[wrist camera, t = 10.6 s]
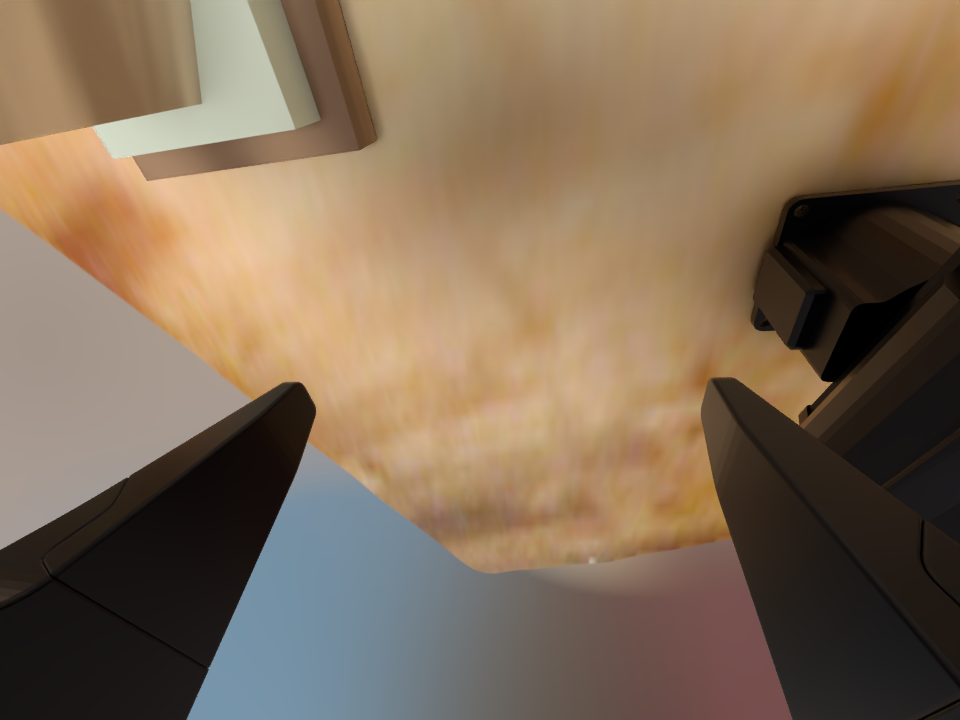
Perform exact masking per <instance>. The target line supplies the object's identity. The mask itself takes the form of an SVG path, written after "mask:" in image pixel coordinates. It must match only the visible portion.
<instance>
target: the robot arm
mask: <svg viewBox="0 0 960 720" xmlns="http://www.w3.org/2000/svg"><path fill="white" fill-rule="evenodd" d="M959 195H960V181H951V182H941V183H930V184H919V185H909V186H898V187H888V188H877V189H866V190H856V191H845V192H835V193H824V194H813V195H803V196H798V197H795V198H793V199H791V200H790V201H789V202H788V203H787V204H786V205H785V207H784V209H783V213H782V216H781V219H780V223H779V226H778V230H777V233H776V236H775V240H774V243H773V246H772V247H770V248H769V249H768V250H767V251H766V254H765V257H764V260H763V264H762V267H761V271H760V274H759V278H758V281H757V285H756V288H755V292H754V295H753V300H754V301H755V302H756V304H755V307H754V311H753V314H752V317H751V323H752V324H753V326H754V327H755V329H757V330H759V331H776V332H777V334H778V335H779V337H780V338H781V340H782V341H783V342H784V344H785V345H786V346H787V347H788V348H789V349H791V350H800V351H801V353H802V354H803V355H804V357H805V358H806V359H807V361H808V362H809V363H810V365H811V366H812V368H813V369H814V370H815V372H816V373H817V374H818V376H819V377H820V378H821V380H823V381H825V382H833V383H832V384H831V385H830V386H829V387H828V388H827V389H826V390H825V391H824V392H823V394H822V395H821V396H820V397H819V398H818V399H817V400H816V401H815V402H814V403H813V404H812V405H808V406H806V407H805V408H804V410H803V411H802V412H801V413H800V414H799V425H800V426H799V425H798V424H796V423H795V422H793V421H792V420H791V419H789V418H788V417H787V416H785V415H784V414H783V413H781V412H780V411H779V410H777V409H776V408H775V407H773V406H772V405H771V404H769V403H768V402H766V401H765V400H764V399H762V398H761V397H760V396H758V395H757V394H756V393H754V392H753V391H752V390H750V389H749V388H748V387H746V386H745V385H744V384H742V383H741V382H739V381H738V380H737V379H735V378H731V377H714V378H711V379H710V380H709V381H708V383H707V387H706V391H705V395H704V399H703V403H702V407H701V419H702V424H703V429H704V434H705V439H706V444H707V450H708V455H709V460H710V465H711V470H712V475H713V479H714V484H715V488H716V492H717V495H718V498H719V502H720V505H721V508H722V510H723V513H724V516H725V519H726V522H727V525H728V528H729V531H730V534H731V537H732V540H733V543H734V546H735V549H736V552H737V555H738V558H739V561H740V564H741V567H742V570H743V573H744V576H745V579H746V582H747V585H748V588H749V591H750V594H751V597H752V600H753V603H754V606H755V609H756V612H757V615H758V618H759V621H760V624H761V627H762V630H763V633H764V636H765V639H766V642H767V645H768V648H769V651H770V654H771V657H772V659H773V663H774V666H775V669H776V672H777V674H778V677H779V680H780V684H781V686H782V690H783V693H784V695H785V698H786V701H787V704H788V707H789V710H790V713H791V716H792V719H793V720H960V199H957V197H958V196H959ZM801 205H804V208H803V210H802V211H801V212H799V213H797V214H794V211H795V209H796V208H797V207H799V206H801ZM765 318H767V320H766V321H765V322H760V321H761V320H763V319H765ZM315 416H316V407H315V404H314V402H313V401H312V399H311V397H310V395H309V393H308V392H307V390H306V388H305V386H304V385H303V384H302V383H300V382H284V383H282V384H280V385H278V386H277V387H275V388H273V389H272V390H270V391H268V392H267V393H265V394H263V395H262V396H260V397H259V398H257V399H255V400H254V401H252V402H250V403H249V404H247V405H245V406H244V407H242V408H240V409H239V410H237V411H236V412H234V413H232V414H231V415H229V416H227V417H226V418H224V419H222V420H221V421H219V422H217V423H216V424H214V425H212V426H211V427H209V428H208V429H206V430H204V431H203V432H201V433H199V434H198V435H196V436H194V437H193V438H191V439H189V440H188V441H186V442H185V443H183V444H181V445H180V446H178V447H176V448H175V449H173V450H171V451H170V452H168V453H166V454H165V455H163V456H162V457H160V458H158V459H157V460H155V461H153V462H152V463H150V464H148V465H147V466H145V467H143V468H142V469H140V470H139V471H137V472H135V473H134V474H132V475H131V476H130V477H129V478H125V479H123V480H122V481H120V482H119V483H117V484H115V485H114V486H112V487H110V488H109V489H107V490H105V491H104V492H102V493H100V494H99V495H97V496H95V497H94V498H92V499H90V500H89V501H87V502H85V503H83V504H82V505H80V506H78V507H77V508H75V509H73V510H71V511H69V512H68V513H66V514H64V515H62V516H61V517H59V518H57V519H56V520H54V521H52V522H50V523H48V524H47V525H45V526H43V527H41V528H39V529H37V530H36V531H34V532H32V533H30V534H28V535H26V536H25V537H23V538H21V539H19V540H17V541H16V542H14V543H12V544H10V545H8V546H7V547H5V548H3V549H1V550H0V720H187V717H188V715H189V713H190V711H191V708H192V706H193V704H194V701H195V699H196V697H197V695H198V693H199V690H200V688H201V686H202V684H203V682H204V679H205V677H206V675H207V673H208V670H209V669H208V668H209V667H210V665H211V663H212V661H213V658H214V656H215V654H216V652H217V650H218V647H219V645H220V643H221V641H222V638H223V636H224V634H225V631H226V629H227V627H228V625H229V622H230V620H231V618H232V616H233V614H234V611H235V609H236V607H237V605H238V603H239V600H240V598H241V596H242V594H243V591H244V589H245V587H246V585H247V582H248V580H249V578H250V576H251V573H252V571H253V569H254V567H255V564H256V562H257V560H258V558H259V556H260V553H261V551H262V549H263V547H264V544H265V542H266V540H267V538H268V535H269V533H270V531H271V529H272V526H273V524H274V522H275V520H276V517H277V515H278V513H279V511H280V509H281V506H282V504H283V502H284V500H285V497H286V495H287V493H288V490H289V488H290V486H291V484H292V482H293V479H294V477H295V474H296V472H297V470H298V467H299V464H300V461H301V458H302V455H303V452H304V449H305V446H306V443H307V440H308V437H309V434H310V431H311V428H312V425H313V422H314V419H315Z"/></svg>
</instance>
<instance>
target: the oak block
mask: <svg viewBox="0 0 960 720" xmlns="http://www.w3.org/2000/svg"><path fill="white" fill-rule="evenodd" d="M199 104H202V99H201V90H200V82H199V73H198V64H197V55H196V46H195V38H194V29H193V20H192V11H191V3H190V0H0V145H2V144H7V143H12V142H17V141H22V140H27V139H32V138H37V137H42V136H46V135H51V134H56V133H61V132H66V131H71V130H76V129H81V128H86V127H91V126H96V125H101V124H105V123H110V122H115V121H120V120H125V119H130V118H135V117H140V116H145V115H150V114H155V113H160V112H164V111H169V110H174V109H179V108H184V107H189V106H194V105H199Z"/></svg>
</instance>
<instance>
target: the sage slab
mask: <svg viewBox="0 0 960 720" xmlns="http://www.w3.org/2000/svg"><path fill="white" fill-rule="evenodd" d="M190 3H191V11H192V20H193V29H194V38H195V46H196V55H197V64H198V73H199V82H200V90H201V99H202V104H199V105H194V106H189V107H184V108H179V109H174V110H169V111H164V112H160V113H155V114H150V115H145V116H140V117H135V118H130V119H125V120H120V121H115V122H110V123H105V124H101V125H96V126H92V127H93V128H94V130H95V131H96V133H97V134H98V136H99V138H100V139H101V141H102V142H103V144H104V145H105V147H106V148H107V150H108V152H109V153H110V155H111V156H112V158H113V159H118V158H124V157H130V156H136V155H143V154H149V153H155V152H161V151H167V150H173V149H179V148H185V147H191V146H197V145H204V144H210V143H216V142H222V141H228V140H234V139H240V138H246V137H252V136H258V135H264V134H271V133H277V132H283V131H289V130H295V129H298V128H301V127H304V126H306V125H309V124H312V123H314V122H317V121H320V120H321V119H320V116H319V113H318V110H317V107H316V104H315V101H314V98H313V95H312V92H311V89H310V86H309V83H308V80H307V77H306V74H305V71H304V69H303V66H302V63H301V60H300V57H299V54H298V51H297V48H296V45H295V42H294V39H293V36H292V33H291V30H290V27H289V24H288V21H287V18H286V16H285V13H284V10H283V7H282V4H281V1H280V0H190Z"/></svg>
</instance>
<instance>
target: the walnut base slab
mask: <svg viewBox="0 0 960 720" xmlns="http://www.w3.org/2000/svg"><path fill="white" fill-rule="evenodd" d="M280 1H281V4H282V7H283V10H284V13H285V16H286V18H287V21H288V24H289V27H290V30H291V33H292V36H293V39H294V42H295V45H296V48H297V51H298V54H299V57H300V60H301V63H302V66H303V69H304V71H305V74H306V77H307V80H308V83H309V86H310V89H311V92H312V95H313V98H314V101H315V104H316V107H317V110H318V113H319V116H320V119H321V120H320V121H317V122H314V123H312V124H309V125H306V126H304V127H301V128H298V129H295V130H289V131H283V132H277V133H271V134H264V135H258V136H252V137H246V138H240V139H234V140H228V141H222V142H216V143H210V144H204V145H197V146H191V147H185V148H179V149H173V150H167V151H161V152H155V153H149V154H143V155H136V156H132V157H133V159H134V160H135V162H136V164H137V165H138V167H139V168H140V170H141V172H142V173H143V175H144V177H145V178H146V180H147V181H150V180H157V179H164V178H171V177H178V176H185V175H192V174H199V173H205V172H212V171H219V170H226V169H233V168H240V167H247V166H253V165H260V164H267V163H274V162H281V161H288V160H295V159H302V158H308V157H315V156H322V155H329V154H336V153H343V152H350V151H356V150H361V149H362V148H364V147H366V146H367V145H369V144H371V143H373V142H374V141H376V140H377V139H376V135H375V132H374V128H373V124H372V121H371V117H370V113H369V110H368V106H367V102H366V99H365V95H364V91H363V88H362V84H361V80H360V77H359V73H358V69H357V66H356V62H355V59H354V55H353V51H352V48H351V44H350V40H349V37H348V33H347V29H346V26H345V22H344V18H343V15H342V11H341V7H340V4H339V0H280Z"/></svg>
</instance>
